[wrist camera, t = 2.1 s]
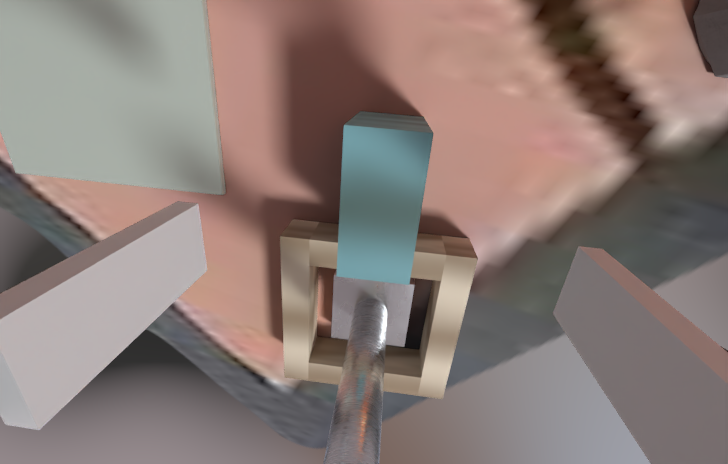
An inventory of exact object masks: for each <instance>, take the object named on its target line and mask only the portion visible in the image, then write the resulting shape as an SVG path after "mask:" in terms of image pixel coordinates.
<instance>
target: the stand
mask: <svg viewBox="0 0 728 464" xmlns="http://www.w3.org/2000/svg"><path fill="white" fill-rule="evenodd" d="M336 274H337V269H336V271H335V273H334V284H333V307H332V329H331V338H339V339H347V340H348V343H347V348H346V353H345V358H344V363H343V368H342V373H341V378H340V383H339V388H338V393H337V398H336V403H335V408H334V413H333V418H332V423H331V428H330V433H329V438H328V443H327V448H326V453H325V458H324V463H323V464H379V458H380V457H379V456H380V439H381V421H382V403H383V385H384V366H385V348H386V345H393V346H401V347H404V346H405V340H406V334H407V328H408V322H409V316H410V310H411V304H412V298H413V292H414V286H415V281H414V278H410V284H409V285H405V284H397V283H388V282H380V281H372V280H363V279H355V278H346V277H338V276H336Z"/></svg>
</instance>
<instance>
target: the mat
mask: <svg viewBox="0 0 728 464" xmlns="http://www.w3.org/2000/svg"><path fill="white" fill-rule="evenodd" d="M0 132H1V134H2V137H3V140H4V142H5V145H6V148H7V151H8V153H9V156H10V159H11V161H12V164H13V167H14V169H15V172H16V173H20V174H30V175H39V176H48V177H58V178H67V179H76V180H86V181H95V182H104V183H114V184H123V185H132V186H142V187H151V188H160V189H170V190H179V191H188V192H198V193H207V194H216V195H224V194H225V193H226V188H225V179H224V169H223V159H222V149H221V140H220V130H219V120H218V110H217V101H216V91H215V81H214V71H213V62H212V52H211V42H210V33H209V23H208V13H207V3H206V0H0Z"/></svg>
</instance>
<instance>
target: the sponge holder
mask: <svg viewBox="0 0 728 464" xmlns="http://www.w3.org/2000/svg"><path fill="white" fill-rule="evenodd" d="M432 139H433V132H432V130H431V128H430V127H429V125H428V123H427V122H426V120H425V119H424V117H419V116H408V115H397V114H386V113H375V112H364V111H360V112H359V113H358V114H356V115H355V116H354V117H353V118H352V119H350V120H349V121H348V122H347V123H345V124H344V130H343V150H342V171H341V191H340V212H339V224H333V223H324V222H315V221H305V220H296V219H293V220H292V221H291V222H290V224H289V225H288V226H287V228H286V229H285V230H284V231H283V233H282V234H281V235H280V255H281V285H282V315H283V345H284V375H285V377H286V378H293V379H301V380H308V381H315V382H322V383H330V384H337V385H339V383H340V378H341V373H342V368H343V363H344V358H345V353H346V348H347V343H348V340H340V339H332V338H325V337H317V309H318V267H325V268H333V269H337V274H336V276H338V277H346V278H355V279H363V280H372V281H380V282H388V283H397V284H405V285H409V284H410V278H418V279H427V280H433V281H432V287H431V292H430V297H429V302H428V307H427V312H426V318H425V323H424V328H423V333H422V338H421V344H420V349H419V350H417V349H409V348H402V347H394V346H386V348H385V366H384V385H383V391H388V392H395V393H402V394H410V395H417V396H424V397H431V398H439V399H442V398H443V395H444V391H445V387H446V383H447V379H448V375H449V371H450V367H451V363H452V359H453V355H454V351H455V347H456V343H457V339H458V335H459V332H460V328H461V324H462V320H463V316H464V312H465V308H466V304H467V300H468V296H469V292H470V288H471V284H472V280H473V276H474V272H475V268H476V264H477V260H478V258H477V255H476V253H475V251H474V249H473V246H472V244H471V242H470V239H469V238H460V237H451V236H442V235H433V234H424V233H418V227H419V221H420V215H421V208H422V202H423V196H424V189H425V183H426V177H427V171H428V164H429V158H430V152H431V145H432Z"/></svg>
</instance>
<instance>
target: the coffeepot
mask: <svg viewBox="0 0 728 464" xmlns="http://www.w3.org/2000/svg"><path fill="white" fill-rule="evenodd" d="M693 18H694V23H695V29H696V34H697V38H698V42H699V47H700V49H701V51H702V53H703V55H704V57H705V59H706V60H707V61H708V62H709V63H710V64H711V67H712V70H713V73H714V75H715V76H716V77H724V78H728V0H699V5H698V8H697V10H696V12H695V14H694V16H693Z"/></svg>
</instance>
